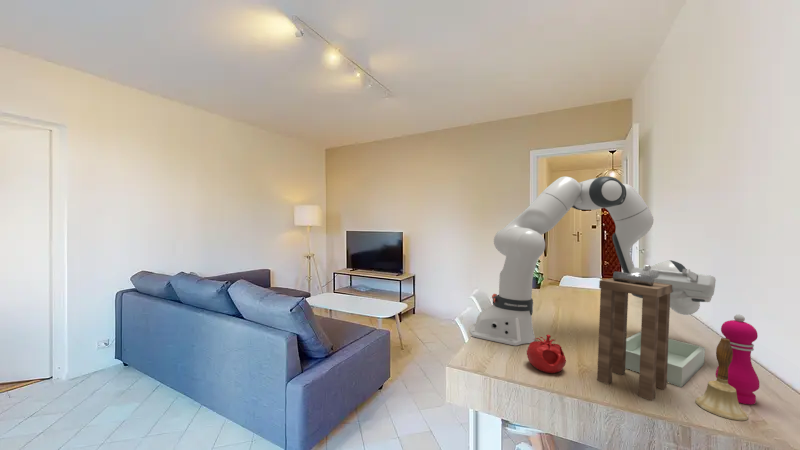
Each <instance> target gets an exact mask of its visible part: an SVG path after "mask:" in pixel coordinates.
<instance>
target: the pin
mask: <svg viewBox="0 0 800 450" xmlns="http://www.w3.org/2000/svg"><path fill="white" fill-rule="evenodd" d="M658 276H659V273H658V272H657V271H656V270H649V271H644V272H638V273H633V274H631V273H624V272H623V271H613V274H612V278H613V280H614V281H621V282H627V283H631V284H641V285H648V286H653V284H654V279H655V278H657V277H658Z"/></svg>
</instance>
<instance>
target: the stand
mask: <svg viewBox="0 0 800 450" xmlns="http://www.w3.org/2000/svg"><path fill="white" fill-rule="evenodd" d="M598 282H599V284H598V288H599V289H600V300H599V319H598V320H599V323H598V325H599V326H598V327H599V328H598V347H597V349H598V350H597V351H598V352H597V373H596V376H597V377H596V380H597V381H599V382H601V383H603V384H606V385H609V384H610V383H612V382H613V373H614V372H615V373H614V374H617V373H618V375H620V374H621V376H622V375H624V374H625V373H626V368H625V362H626V339H627V334H628V332H627V331H628V311H629V310H628V309H629V308H628V307H629V304H628V303H629V294H631V295H632V294H637V295H643V298H642V300H641V301H642V302H641V303H642V304H641V306H642V307H641V309H642V310H641V329H640V332H641V350H640V373H639V375H638V376H639V377H638V379H639V380H638V383H639V384H638V397H640V398H643V399H646V400H648V401H651V402H652V401H654V400H655V399H656V388H657V387H658V388H657V389H660V390H663V391H664V390H666V389H667V387H668V386H667V384H668V383H667V364H668V340H669V339H670V338H669V337H670V332H669V331H670V313H671V312H670V309H671V308H670V293H672V285H671V284H664V283H657V282H654V284H653V286H648V285H641V284H631V283H627V282H621V281H614V280H613V277H611V278H607V279H600V280H599V281H598Z"/></svg>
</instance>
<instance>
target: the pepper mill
mask: <svg viewBox="0 0 800 450" xmlns="http://www.w3.org/2000/svg"><path fill="white" fill-rule="evenodd" d="M733 319H734V320H733ZM733 319H731V320H726V321H724V322H723V323H722V324H721V327H720V332H721V334H722V335H723V336H724V338H726V339H729V340H730V344H731V347H732V350H733V357H732V361H731V363H730V365H729V368H728V384H729V385H730V386H732V387H734V388H735V389H736V393H737V399H738V403H739V404H744V405H751V406H752V405H755V404H756V403H757V396H756V394H755V393H754V392H756V391H758V390H759V389H760V386H761V385H760V380H759V377H758V376H759V375H757V373H756V370H755V369H754V366H753V364H752V358H751V357H752V352H753V351H754V350H755V349H754V348H755V345H754V343H753V342H755V341H756V340H758V331H757V329H756V327H754V326H753V325H752V324H750V323H748V322H745V320H746V319H745V317H744V316H743V315H742V314H735V315H734V316H733ZM718 367H719V365H717V367H716V370H715V377H716V379H717V375H718Z"/></svg>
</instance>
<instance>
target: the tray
mask: <svg viewBox="0 0 800 450" xmlns="http://www.w3.org/2000/svg"><path fill="white" fill-rule="evenodd" d="M640 350H641V331H639V332H637V333H635V334H632V335H630V336H629V337H626V362H625V370H628V369H630V370H629V371H631V370H632V371H631V372H634V371H636V372H635V373H637V372H639V373H638V374H640ZM705 350H706V347H705V346H700V345H697V344H692V343H689V342H685V341H680V340H676V339H673V338H669V340H668V364H667V382H669V383H668V384H670V383H671V385H673V384H674V386H676V385H677V386H676V387H679V388H682V387H684V385H686V384H687V382H688V381H689V380H691V378H692V377H694V375H695V374H696V373H697V372H698V371H699V370H700V369H701V368H702V367H703V366H704V365H705V355H706V354H705V353H706V352H705Z"/></svg>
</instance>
